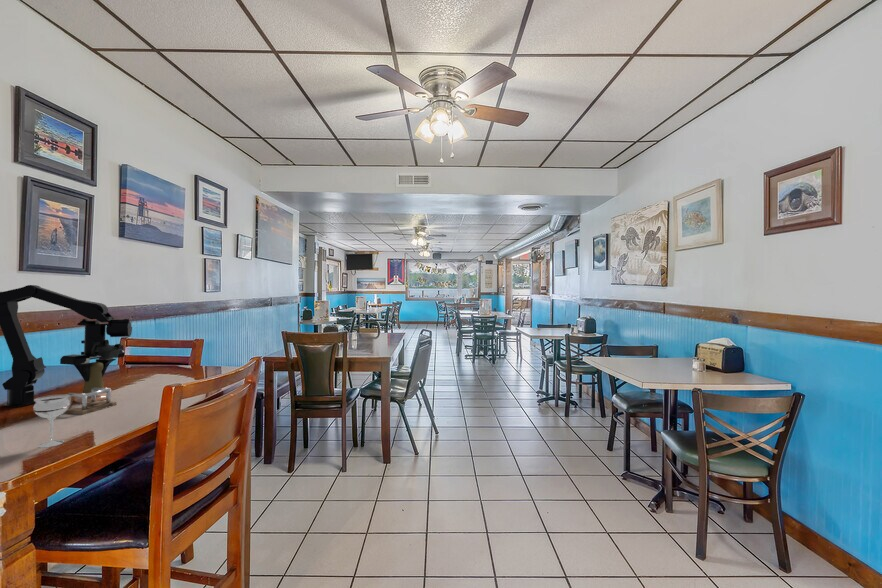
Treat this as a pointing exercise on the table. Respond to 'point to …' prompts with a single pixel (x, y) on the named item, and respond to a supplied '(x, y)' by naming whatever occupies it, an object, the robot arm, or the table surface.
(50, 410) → the wineglass
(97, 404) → the base
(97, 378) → the olive green tapered cylinder
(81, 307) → the robot arm
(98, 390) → the silver twin cylinder holder
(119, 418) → the table surface
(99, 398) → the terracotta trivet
